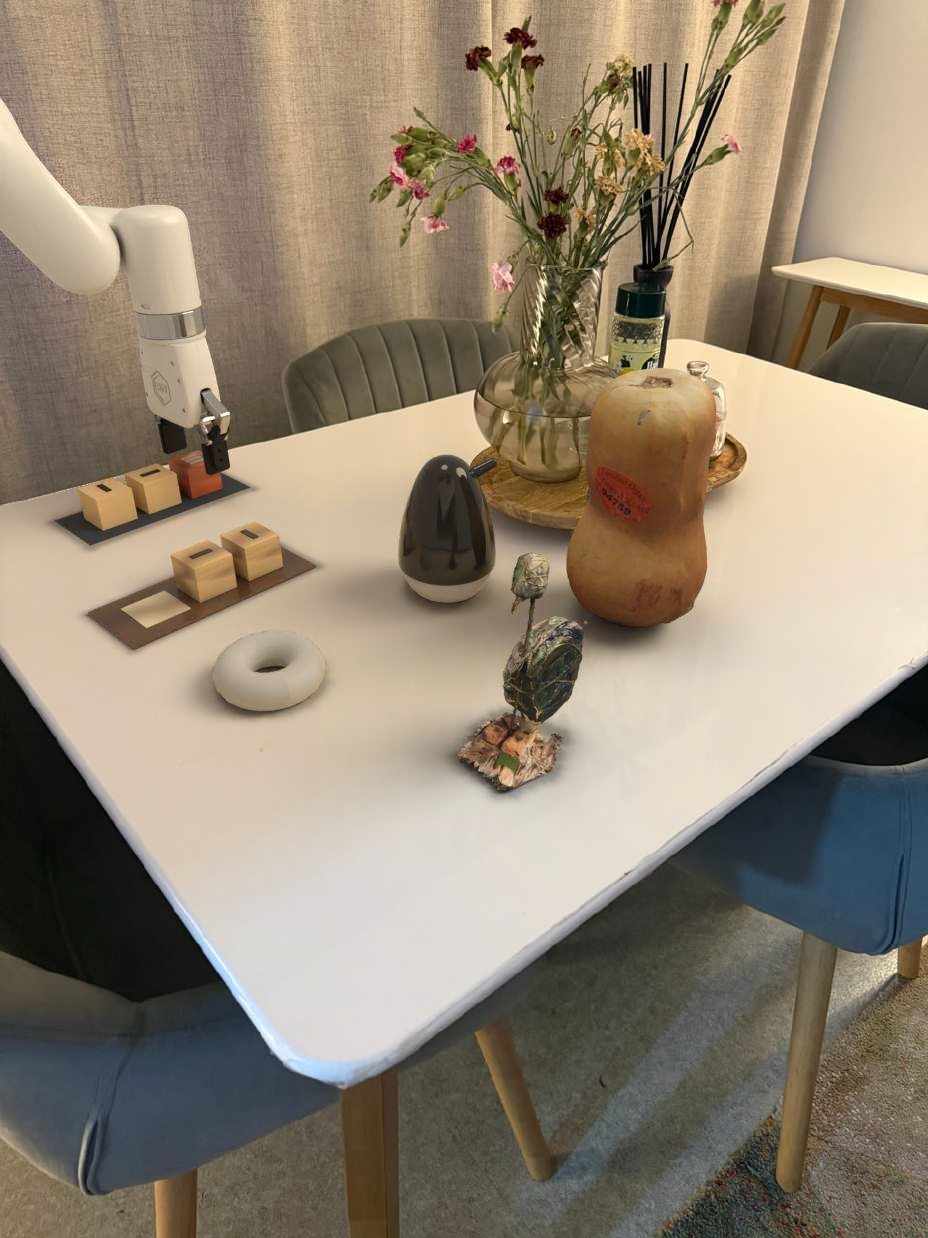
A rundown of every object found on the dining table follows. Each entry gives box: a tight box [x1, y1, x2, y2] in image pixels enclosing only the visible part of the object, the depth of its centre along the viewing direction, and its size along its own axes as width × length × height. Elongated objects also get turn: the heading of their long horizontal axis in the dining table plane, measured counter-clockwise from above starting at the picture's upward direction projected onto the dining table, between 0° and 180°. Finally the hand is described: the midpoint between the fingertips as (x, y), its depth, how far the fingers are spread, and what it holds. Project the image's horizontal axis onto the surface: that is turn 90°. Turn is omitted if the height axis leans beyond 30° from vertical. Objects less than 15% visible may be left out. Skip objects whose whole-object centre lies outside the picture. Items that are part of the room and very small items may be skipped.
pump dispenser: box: [397, 453, 498, 604], centre depth 90 cm, size 10×10×15 cm
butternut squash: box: [565, 367, 717, 629], centre depth 84 cm, size 14×13×25 cm
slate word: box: [54, 462, 251, 546], centre depth 109 cm, size 9×22×5 cm, turn 137°
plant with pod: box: [457, 552, 588, 791], centre depth 68 cm, size 8×11×20 cm
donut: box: [212, 629, 327, 712], centre depth 80 cm, size 10×4×10 cm
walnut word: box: [87, 521, 317, 651], centre depth 93 cm, size 9×22×5 cm, turn 137°
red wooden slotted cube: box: [167, 449, 223, 499], centre depth 113 cm, size 4×4×4 cm
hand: (196, 460), depth 112 cm, fingers open, 9 cm apart
